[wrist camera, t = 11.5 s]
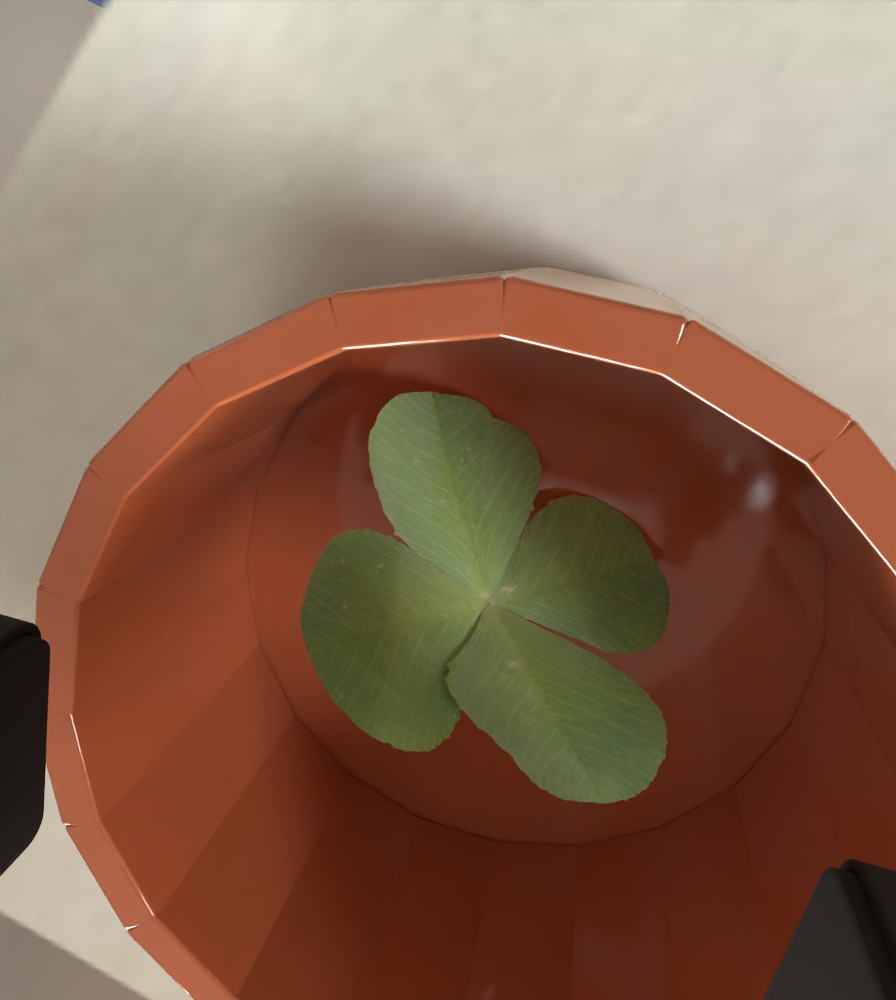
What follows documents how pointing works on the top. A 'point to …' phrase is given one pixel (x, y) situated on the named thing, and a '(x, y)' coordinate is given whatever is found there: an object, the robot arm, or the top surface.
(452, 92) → the top surface
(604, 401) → the planter
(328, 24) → the top surface
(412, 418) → the green leafy piece
